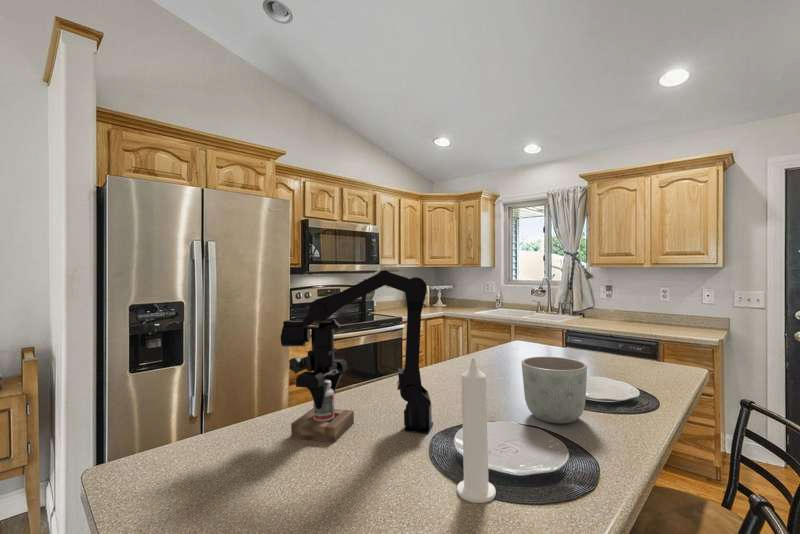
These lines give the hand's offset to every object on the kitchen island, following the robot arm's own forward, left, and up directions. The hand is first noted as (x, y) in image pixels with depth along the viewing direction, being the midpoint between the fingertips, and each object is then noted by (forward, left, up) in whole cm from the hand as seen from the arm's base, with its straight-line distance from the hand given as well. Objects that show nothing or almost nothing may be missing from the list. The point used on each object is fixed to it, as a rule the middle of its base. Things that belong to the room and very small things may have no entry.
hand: (323, 405), depth 104 cm
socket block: (0, 0, -7) cm, 7 cm away
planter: (-59, -22, -7) cm, 63 cm away
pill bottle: (0, 0, -4) cm, 4 cm away
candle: (-41, +20, -7) cm, 46 cm away
